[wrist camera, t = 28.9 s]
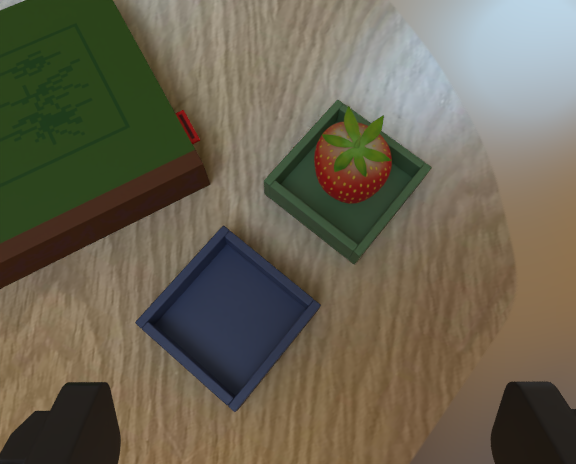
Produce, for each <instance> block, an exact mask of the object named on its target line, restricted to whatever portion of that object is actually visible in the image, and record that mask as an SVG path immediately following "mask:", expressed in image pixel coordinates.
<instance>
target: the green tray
mask: <svg viewBox="0 0 576 464" xmlns="http://www.w3.org/2000/svg"><path fill="white" fill-rule="evenodd" d="M347 108H348V107H347V106H346V105H345V104H344V105H343V103H342V102H341V101H339V100H337V101H336V102H335V103H334V104H333V105H332V106H331V107H330V109H329V110H328V111H327V112H326V113H325V114H324V115H323V116H322V117H321V118H320V120H319V121H318V122H317V123H316V124H315V125H314V126H313V127H312V128H311V129H310V131H309V132H308V133H307V134H306V135H305V136H304V137H303V138H302V139H301V140H300V142H299V143H298V144H297V145H296V146H295V147H294V148H293V149H292V150H291V151H290V153H289V154H288V155H287V156H286V157H285V158H284V159H283V160H282V161H281V162H280V164H279V165H278V166H277V167H276V168H275V169H274V170H273V171H272V172H271V173H270V175H269V176H268V177H267V178H266V179H265V180H264V193H265V195H267V196H268V197H269V198H270V199H272V200H273V201H274V202H276V203H277V204H278V205H279V206H281V207H282V208H283V209H284V210H286V211H287V212H288V213H290V214H291V215H292V216H293V217H295V218H296V219H297V220H298V221H300V222H301V223H302V224H303V225H305V226H306V227H307V228H309V229H310V230H311V231H312V232H314V233H315V234H316V235H317V236H319V237H320V238H321V239H322V240H324V241H325V242H326V243H328V244H329V245H330V246H331V247H333V248H334V249H335V250H336V251H338V252H339V253H340V254H342V255H343V256H344V257H345V258H347V259H348V260H349V261H350V262H352V263H353V264H355V263H356V262H357V261H358V260H359V258H360V257H361V256H362V255H363V253H364V252H365V251H366V250H367V248H368V247H369V246H370V245H371V243H372V242H373V241H374V240H375V239H376V237H377V236H378V235H379V234H380V232H381V231H382V230H383V229H384V227H385V226H386V225H387V224H388V222H389V221H390V220H391V219H392V217H393V216H394V215H395V214H396V212H397V211H398V210H399V209H400V207H401V206H402V205H403V204H404V202H405V201H406V200H407V199H408V197H409V196H410V195H411V194H412V192H413V191H414V190H415V189H416V187H417V186H418V185H419V184H420V182H421V181H422V180H423V179H424V177H425V176H426V175H427V173H428V172H429V171H430V169H431V167H430V166H429V165H428V164H426V163H425V162H423V161H422V160H421V159H419V158H418V157H417V156H415V155H414V154H412V153H411V152H410V151H408V150H407V149H406V148H404V147H403V146H401V145H400V144H399V143H397V142H396V141H394V140H393V139H392V138H390V137H389V136H388V135H386V134H385V133H383V132H382V131H381V132H380V135H381V136H382V137H383V138H384V140H385V141H386V142H387V144H388V146H389V149H390V152H391V157H392V167H391V171H390V175H389V177H388V179H387V181H386V182H385V184H384V185H383V186H382V187H381V189H380V190H379V191H378V192H376V193H375V194H374V195H373V196H371V197H370V198H368V199H366V200H365V201H362V202H359V203H352V204H348V203H344V202H341V201H339V200H336V199H334V198H333V197H331V196H330V195H328V194H327V193H326V192H325V191H324V190H323V188H322V187H321V185H320V183H319V181H318V179H317V176H316V171H315V163H314V157H315V149H316V146H317V142H318V141H319V139H320V137H321V135H322V134H323V133H324V132H325V130H326V129H327V128H329V127H330V126H332V125H333V124H336V123H339V122H344V117H345V113H346V111H347ZM351 111H352V112H353V114H354V116H355V118H356V120H357V123H362V124H364V125H367V126H369V125H370V124H371V123H370V122H368V121H367V120H365V119H364V118H363V117H361V116H360V115H359V114H357V113H356V112H354V111H353V110H352V109H351Z"/></svg>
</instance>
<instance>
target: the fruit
mask: <svg viewBox="0 0 576 464" xmlns="http://www.w3.org/2000/svg"><path fill="white" fill-rule="evenodd" d="M383 118H384V115H383V116H382V117H380V118H378V119H377V120H375V121H374V122H373V123H371V124H370V125H369V126H367V125H364V124H362V123H357V120H356V118H355V116H354V114H353V112H352V111H351V109H350V107H349V106H348V108H347V111H346V113H345V117H344V122H339V123H336V124H333V125H332V126H330V127H329V128H327V129H326V130H325V132H324V133H323V134H322V135H321V137H320V139H319V141H318V142H317V146H316V149H315V157H314V163H315V171H316V176H317V179H318V181H319V183H320V185H321V187H322V188H323V190H324V191H325V192H326V193H327V194H328V195H330V196H331V197H333V198H334V199H336V200H339V201H341V202H344V203H348V204H352V203H359V202H362V201H365V200H366V199H368V198H370V197H371V196H373V195H374V194H375V193H376V192H378V191H379V190H380V189H381V187H382V186H383V185H384V184H385V182H386V181H387V179H388V177H389V175H390V171H391V167H392V157H391V152H390V149H389V146H388V144H387V142H386V141H385V140H384V138H383V137H382V136H381V135H380V132H381V130H382V125H383Z"/></svg>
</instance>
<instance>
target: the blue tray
mask: <svg viewBox="0 0 576 464" xmlns="http://www.w3.org/2000/svg"><path fill="white" fill-rule="evenodd" d="M320 306H321V305H320V304H319V303H318V302H317V301H315V300H314V299H313V298H312V297H311V296H309V295H308V294H307V293H306V292H304V291H303V290H302V289H301V288H300V287H298V286H297V285H296V284H295V283H293V282H292V281H291V280H290V279H288V278H287V277H286V276H285V275H284V274H282V273H281V272H280V271H279V270H277V269H276V268H275V267H274V266H273V265H271V264H270V263H269V262H268V261H266V260H265V259H264V258H263V257H262V256H260V255H259V254H258V253H257V252H255V251H254V250H253V249H252V248H251V247H249V246H248V245H247V244H246V243H244V242H243V241H242V240H241V239H240V238H238V237H237V236H236V235H235V234H233V233H232V232H231V231H229V229H227V228H226V227H225V226H222V227H221V228H220V230H219V231H218V232H217V233H216V234H215V235H214V236H213V237H212V238H211V239H210V241H209V242H208V243H207V244H206V245H205V246H204V247H203V248H202V249H201V250H200V252H199V253H198V254H197V255H196V256H195V257H194V258H193V259H192V260H191V261H190V263H189V264H188V265H187V266H186V267H185V268H184V269H183V270H182V271H181V272H180V274H179V275H178V276H177V277H176V278H175V279H174V280H173V281H172V282H171V283H170V285H169V286H168V287H167V288H166V289H165V290H164V291H163V292H162V293H161V294H160V296H159V297H158V298H157V299H156V300H155V301H154V302H153V303H152V304H151V305H150V307H149V308H148V309H147V310H146V311H145V312H144V313H143V314H142V315H141V316H140V318H139V319H138V320H137V321H136V322H135V323H136V324H137V325H138V326H139V327H140V328H142V330H144V331H145V332H146V333H147V334H148V335H149V336H150V337H151V338H152V339H154V340H155V341H156V342H157V343H158V344H159V345H160V346H161V347H162V348H164V349H165V350H166V351H167V352H168V353H169V354H170V355H171V356H173V357H174V358H175V359H176V360H177V361H178V362H179V363H180V364H181V365H183V366H184V367H185V368H186V369H187V370H188V371H189V372H190V373H191V374H193V375H194V376H195V377H196V378H197V379H198V380H199V381H200V382H202V383H203V384H204V385H205V386H206V387H207V388H208V389H209V390H210V391H212V392H213V393H214V394H215V395H216V396H217V397H218V398H219V399H220V400H222V401H223V402H224V403H225V404H226V405H228V407H229V408H231V409H232V410H233V411H234V412H236V411H237V410H238V409H239V408H240V407H241V405H242V404H243V403H244V402H245V400H246V399H247V398H248V397H249V395H250V394H251V393H252V392H253V390H254V389H255V388H256V387H257V385H258V384H259V383H260V382H261V380H262V379H263V378H264V377H265V375H266V374H267V373H268V372H269V370H270V369H271V368H272V367H273V365H274V364H275V363H276V362H277V361H278V359H279V358H280V357H281V356H282V354H283V353H284V352H285V351H286V349H287V348H288V347H289V346H290V344H291V343H292V342H293V341H294V339H295V338H296V337H297V336H298V334H299V333H300V332H301V331H302V329H303V328H304V327H305V326H306V324H307V323H308V322H309V321H310V319H311V318H312V317H313V316H314V314H315V313H316V312H317V311H318V309H319V308H320Z"/></svg>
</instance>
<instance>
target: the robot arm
mask: <svg viewBox="0 0 576 464" xmlns="http://www.w3.org/2000/svg"><path fill="white" fill-rule="evenodd" d="M120 445H121V437H120V430H119V426H118V421H117V417H116V412H115V408H114V404H113V399H112V395H111V390H110V387H109V385H108V383H106V382H68V383H66V384H65V385H64V386H63V387H62V389H61V390H60V392H59V394H58V396H57V398H56V400H55V402H54V404H53V406H52V408H51V410H50V411H35V412H34V413H33V414H32V415H31V416H29V417H28V418H27V419H26V420H25V421H24V422H23V423H22V424H21V425H20V426H19V427H18V428H17V429H16V430H15V431H14V432H13V433H12V434H11V435H10V437H9V439H8V440H7V442H6V444H5V446H4V447H3V449H2V451H1V453H0V464H118V460H119V455H120ZM491 449H492V455H493V458H494V462H495V464H576V409H571V408H570V407H569V406H568V404H567V402H566V401H565V399H564V398H563V396H562V395H561V393H560V392H559V390H558V389H557V388H556V386H555V385H553V384H552V383H551V382H510V383H508V384H507V386H506V388H505V391H504V394H503V397H502V400H501V403H500V406H499V410H498V413H497V416H496V419H495V422H494V425H493V429H492V433H491Z"/></svg>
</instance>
